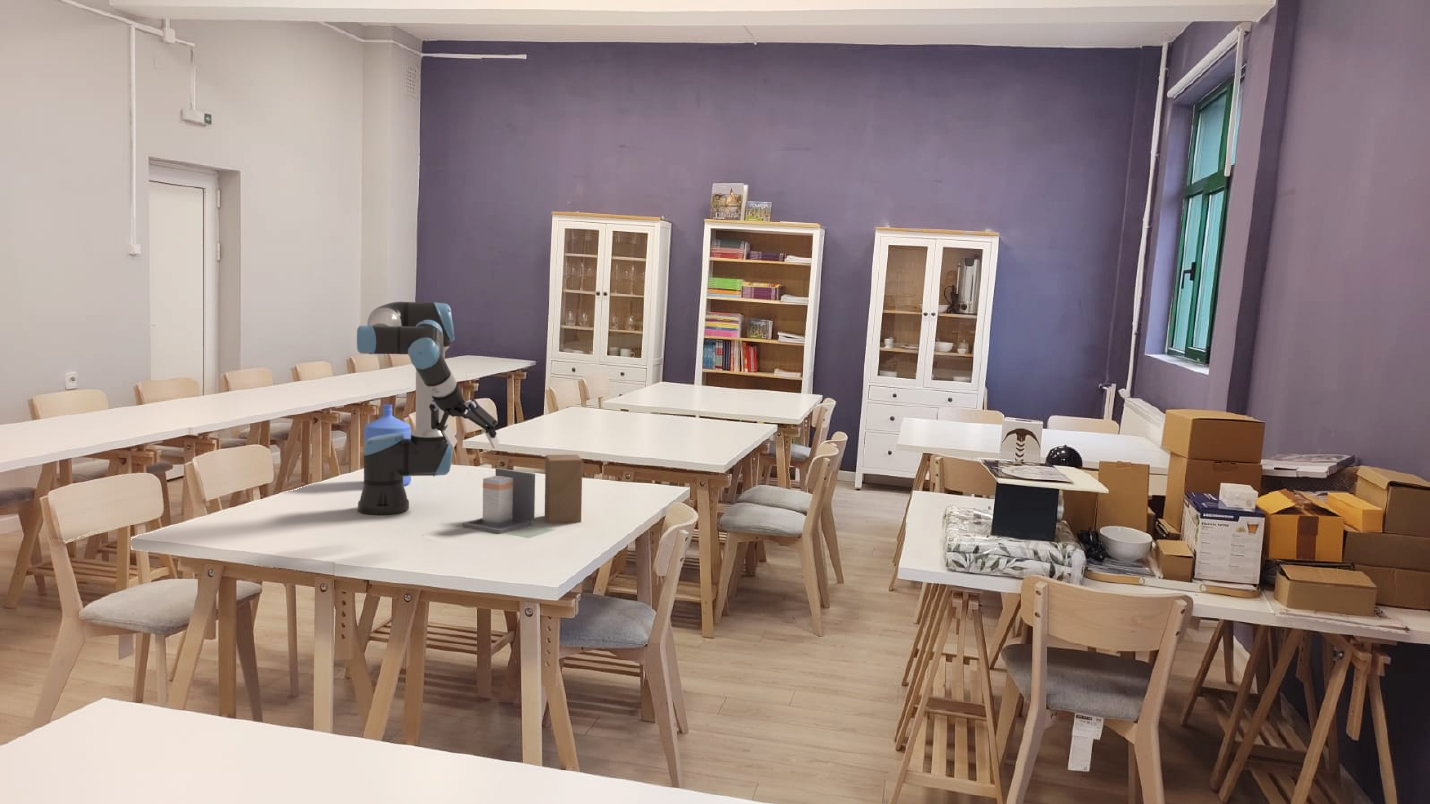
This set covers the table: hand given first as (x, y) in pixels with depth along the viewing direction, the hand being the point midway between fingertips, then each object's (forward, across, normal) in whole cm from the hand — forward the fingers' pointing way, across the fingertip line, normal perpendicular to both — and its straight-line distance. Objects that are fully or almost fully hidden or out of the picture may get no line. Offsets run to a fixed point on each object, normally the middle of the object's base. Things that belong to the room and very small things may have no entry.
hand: (475, 444), depth 280 cm
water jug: (+45, -67, +24) cm, 84 cm away
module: (+25, +1, -9) cm, 26 cm away
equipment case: (+25, 0, -10) cm, 27 cm away
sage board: (+25, +13, -12) cm, 30 cm away
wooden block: (+36, +13, +2) cm, 39 cm away
